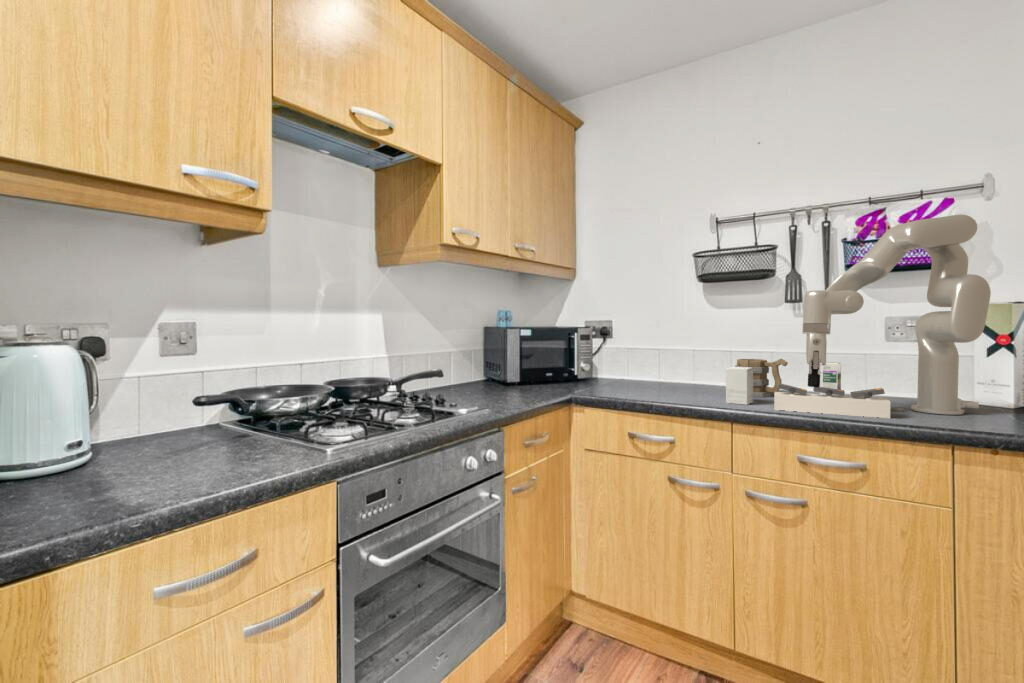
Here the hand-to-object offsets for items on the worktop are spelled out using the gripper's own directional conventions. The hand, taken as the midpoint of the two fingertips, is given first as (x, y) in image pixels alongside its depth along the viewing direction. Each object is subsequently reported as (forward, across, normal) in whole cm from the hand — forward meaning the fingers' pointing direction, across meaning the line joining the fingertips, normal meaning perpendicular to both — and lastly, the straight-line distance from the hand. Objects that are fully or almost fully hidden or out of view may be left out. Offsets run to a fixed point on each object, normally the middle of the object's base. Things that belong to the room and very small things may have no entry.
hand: (813, 386), depth 153 cm
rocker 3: (+1, 0, -14) cm, 14 cm away
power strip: (+8, 0, -6) cm, 10 cm away
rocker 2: (+1, 0, -4) cm, 4 cm away
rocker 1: (+2, 0, +6) cm, 6 cm away
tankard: (+8, +28, +16) cm, 33 cm away
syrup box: (+8, +20, -6) cm, 23 cm away
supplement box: (+9, +7, +22) cm, 25 cm away
